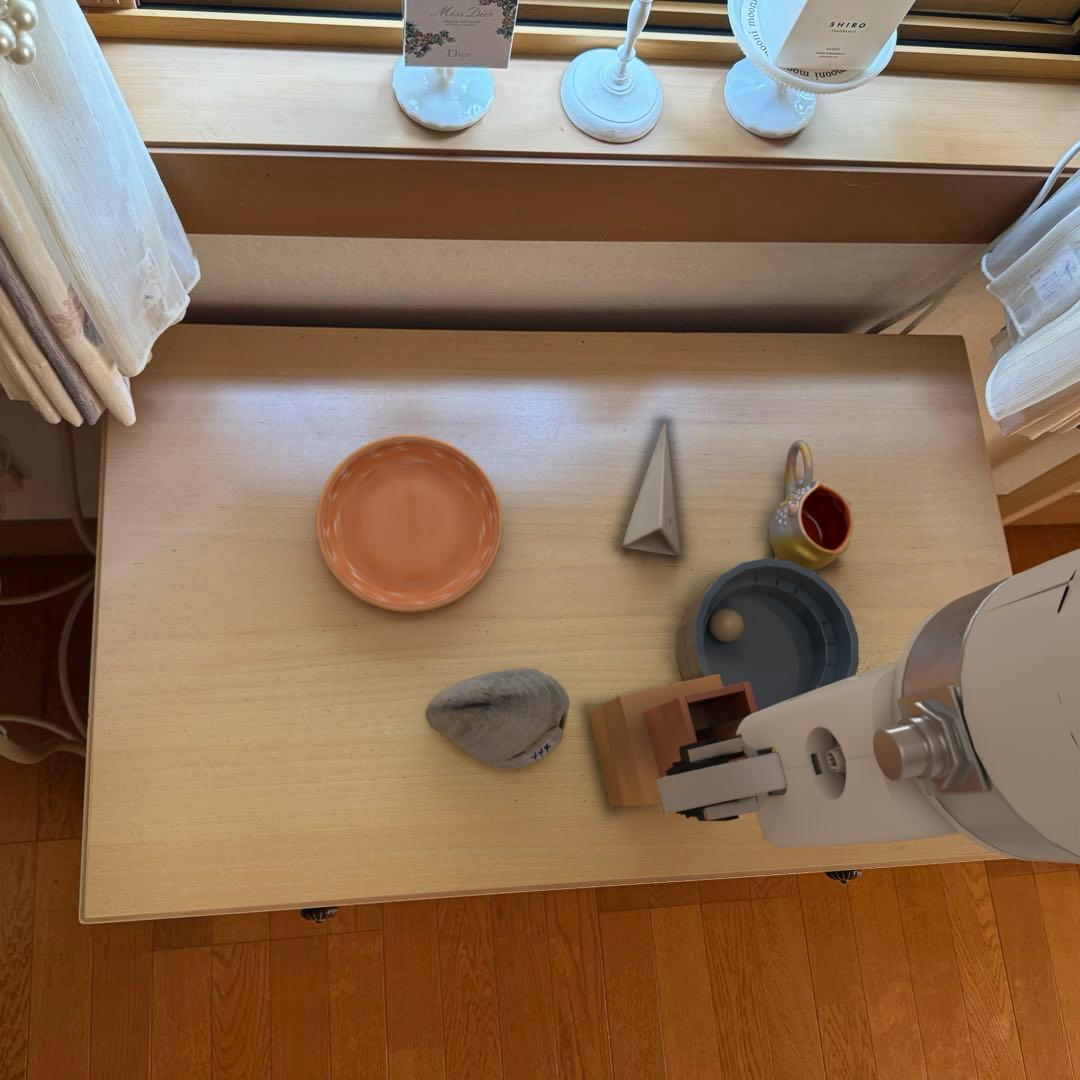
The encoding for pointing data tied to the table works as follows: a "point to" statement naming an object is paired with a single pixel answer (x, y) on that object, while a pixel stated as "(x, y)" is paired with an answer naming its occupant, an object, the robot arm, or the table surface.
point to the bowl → (770, 632)
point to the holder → (660, 732)
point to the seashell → (502, 716)
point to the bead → (726, 625)
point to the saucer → (409, 523)
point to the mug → (809, 517)
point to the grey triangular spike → (655, 507)
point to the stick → (720, 731)
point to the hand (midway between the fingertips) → (794, 758)
